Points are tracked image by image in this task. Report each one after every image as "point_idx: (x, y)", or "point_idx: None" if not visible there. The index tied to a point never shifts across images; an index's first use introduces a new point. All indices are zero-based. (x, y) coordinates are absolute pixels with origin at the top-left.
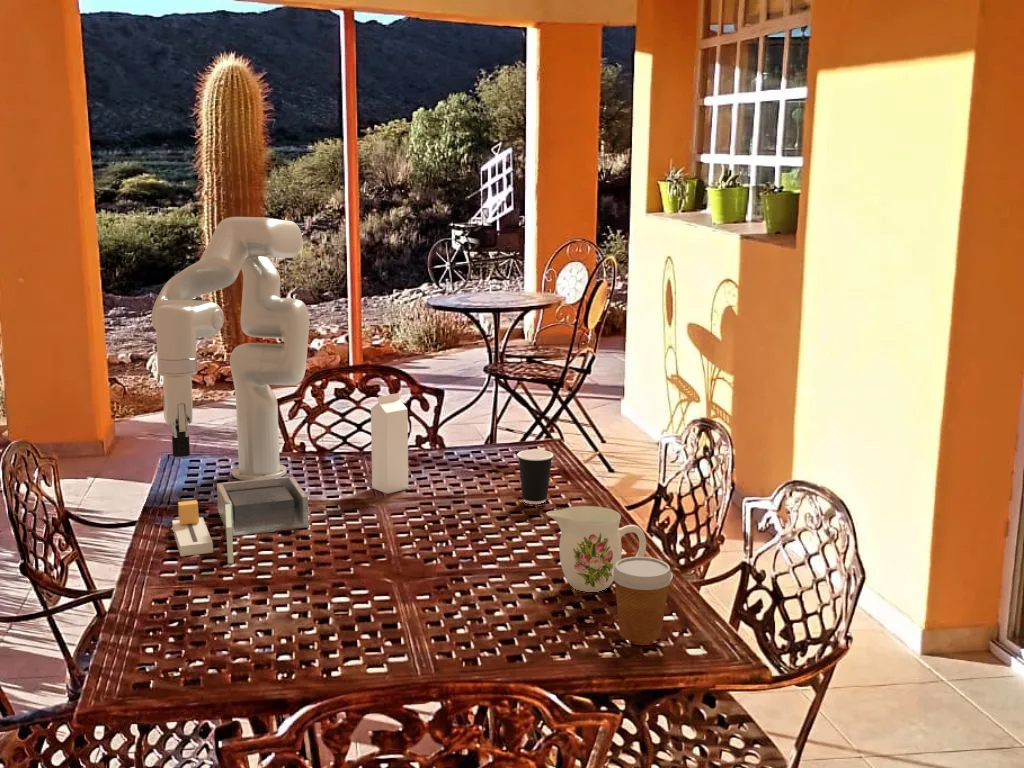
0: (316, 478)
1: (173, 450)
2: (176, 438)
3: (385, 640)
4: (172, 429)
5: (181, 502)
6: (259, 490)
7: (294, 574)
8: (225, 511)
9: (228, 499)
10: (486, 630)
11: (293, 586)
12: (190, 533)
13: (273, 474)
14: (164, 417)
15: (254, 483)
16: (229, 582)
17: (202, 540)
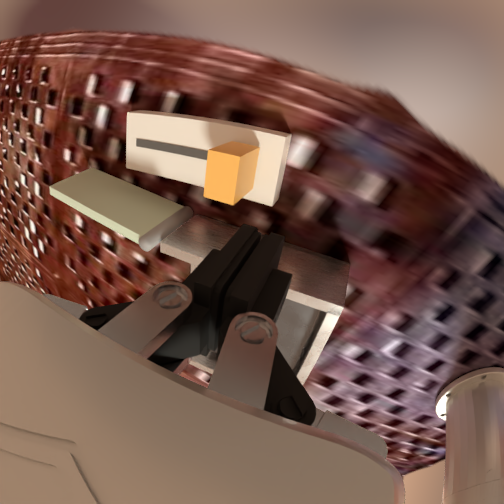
0: (391, 424)
1: (231, 238)
2: (195, 296)
3: (2, 217)
4: (273, 354)
5: (231, 163)
6: (289, 348)
7: (66, 221)
8: (152, 228)
9: (197, 263)
10: (14, 266)
11: (47, 207)
12: (178, 145)
13: (438, 404)
14: (233, 426)
15: (305, 357)
16: (59, 153)
17: (138, 155)
